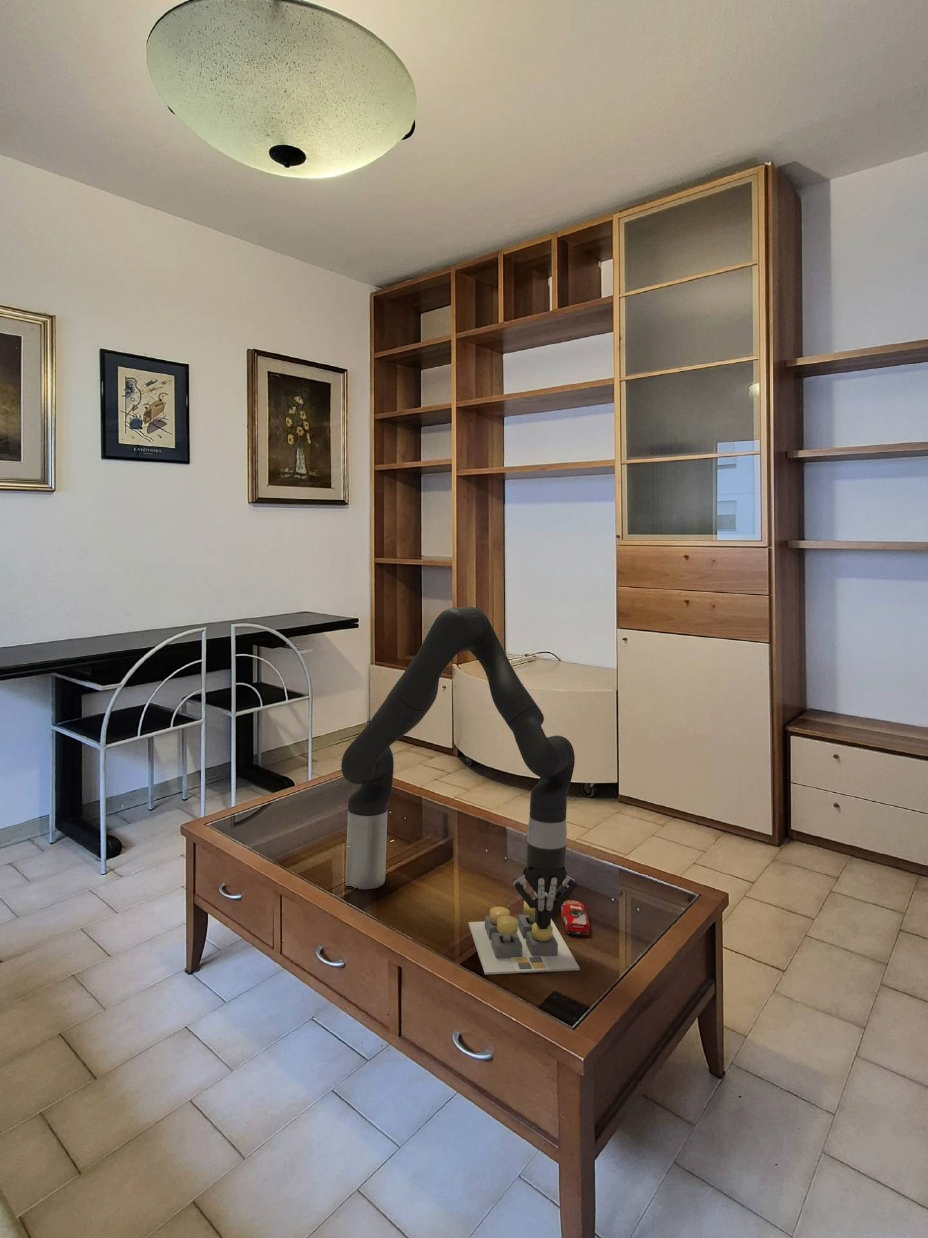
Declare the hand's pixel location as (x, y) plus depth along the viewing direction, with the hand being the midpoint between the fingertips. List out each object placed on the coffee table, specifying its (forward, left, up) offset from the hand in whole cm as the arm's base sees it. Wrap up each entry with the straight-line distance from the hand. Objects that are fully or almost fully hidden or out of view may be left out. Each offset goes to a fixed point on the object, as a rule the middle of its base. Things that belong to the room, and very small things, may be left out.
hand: (542, 927), depth 138 cm
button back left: (-7, +7, -4) cm, 11 cm away
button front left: (-7, 0, -3) cm, 8 cm away
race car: (+10, +11, -6) cm, 16 cm away
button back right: (0, +7, -3) cm, 8 cm away
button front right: (0, 0, -4) cm, 4 cm away
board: (-4, +3, -5) cm, 7 cm away
